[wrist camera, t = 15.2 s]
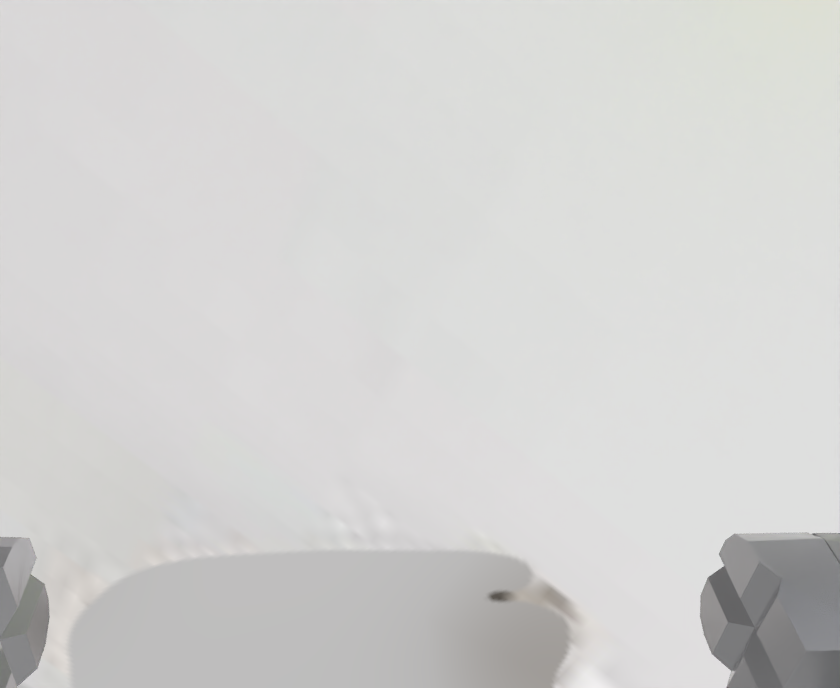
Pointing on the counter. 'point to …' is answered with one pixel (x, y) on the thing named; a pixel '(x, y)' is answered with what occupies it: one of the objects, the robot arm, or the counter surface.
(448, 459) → the counter surface
